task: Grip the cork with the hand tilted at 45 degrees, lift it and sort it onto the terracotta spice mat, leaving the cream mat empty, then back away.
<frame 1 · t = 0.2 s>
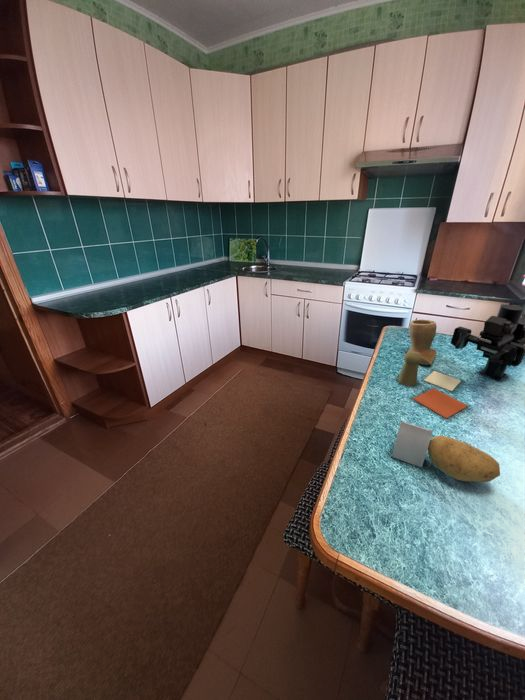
hand: (472, 352, 85), 17 cm above the table, tool horizontal, fingers open, 9 cm apart
potato: (455, 473, 68), on the table
grey rectangular block: (407, 457, 73), on the table
cream mat: (442, 381, 102), on the table
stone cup: (417, 357, 118), on the table
terracotta mat: (439, 403, 91), on the table
cork: (406, 381, 102), on the table
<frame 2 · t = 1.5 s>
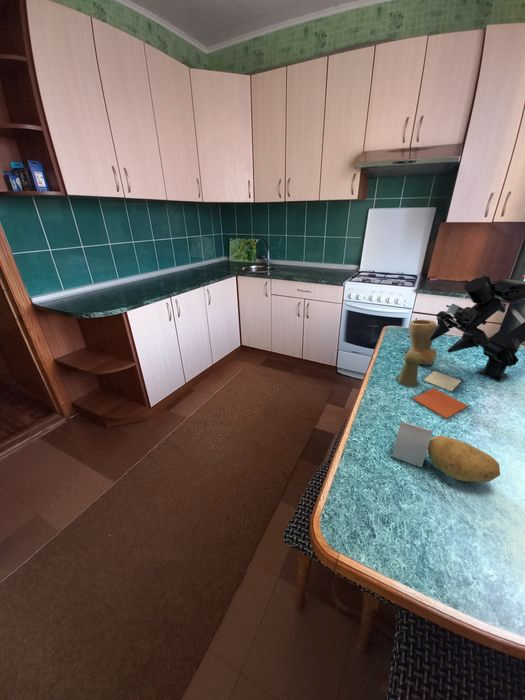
hand: (438, 345, 97), 14 cm above the table, tool tilted 45°, fingers open, 9 cm apart
nothing on the table moved.
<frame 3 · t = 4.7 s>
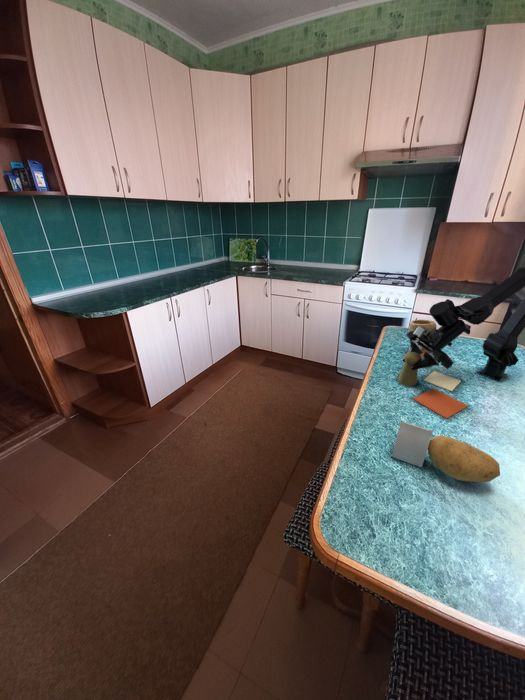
hand: (407, 365, 99), 7 cm above the table, tool tilted 45°, fingers closed on cork, 5 cm apart
cork: (406, 381, 102), on the table, touching gripper
everything else where it was.
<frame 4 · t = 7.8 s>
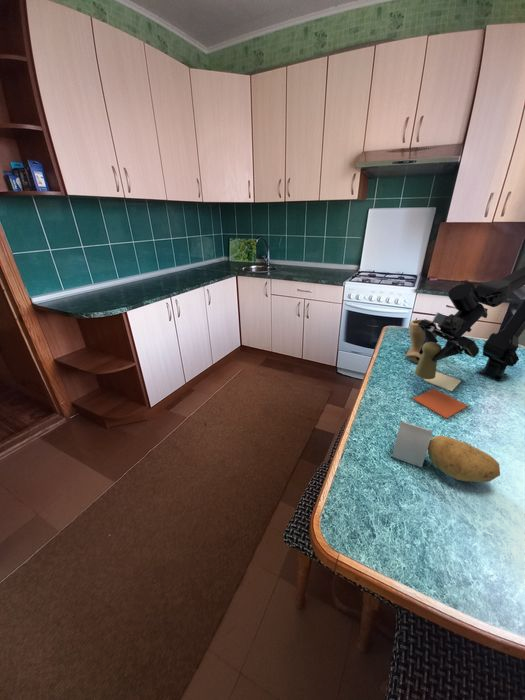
hand: (426, 357, 91), 13 cm above the table, tool tilted 45°, fingers closed on cork, 5 cm apart
cork: (424, 374, 94), point 6 cm above the table, touching gripper
everything else where it was.
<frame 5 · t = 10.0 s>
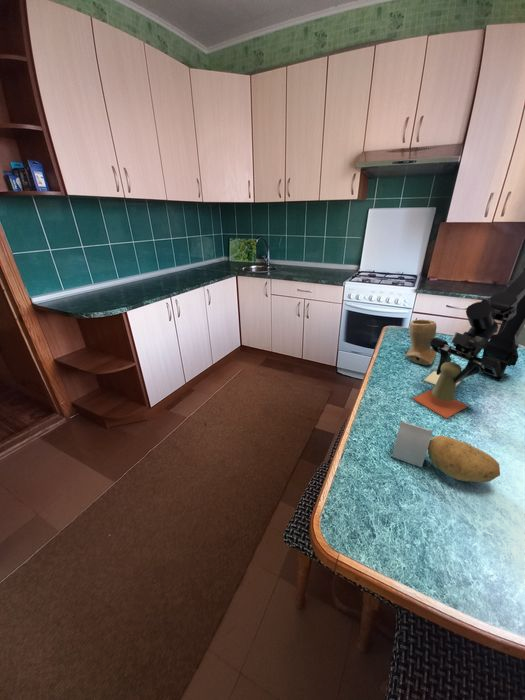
hand: (445, 378, 86), 10 cm above the table, tool tilted 45°, fingers closed on cork, 5 cm apart
cork: (442, 395, 90), point 3 cm above the table, touching gripper
everything else where it was.
when the fingers open (7 cm above the table, at t = 11.3 s): cork stays where it is, resting on terracotta mat.
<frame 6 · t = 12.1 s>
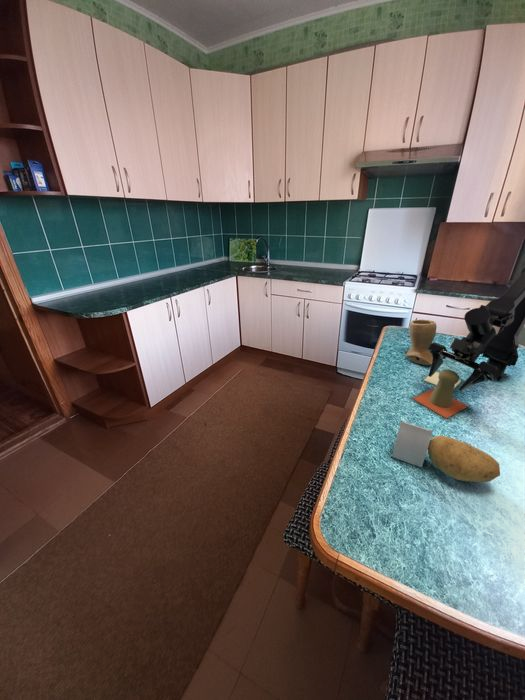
hand: (443, 383, 87), 8 cm above the table, tool tilted 45°, fingers open, 9 cm apart
cork: (440, 402, 91), resting on terracotta mat
everything else where it was.
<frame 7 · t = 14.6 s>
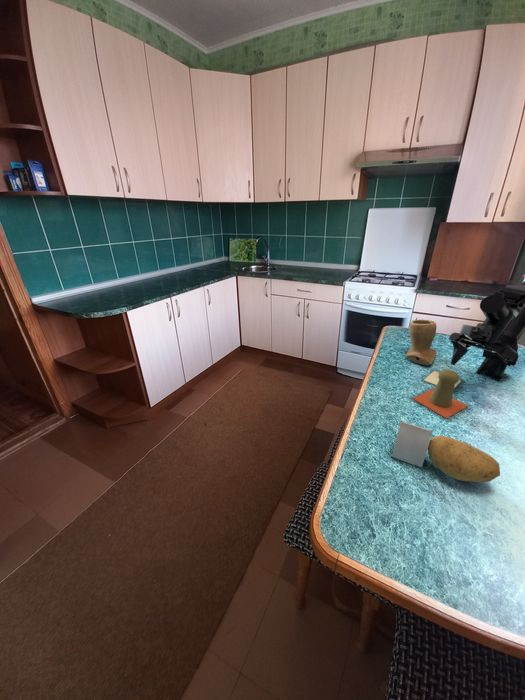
hand: (464, 369, 91), 9 cm above the table, tool tilted 35°, fingers open, 9 cm apart
nothing on the table moved.
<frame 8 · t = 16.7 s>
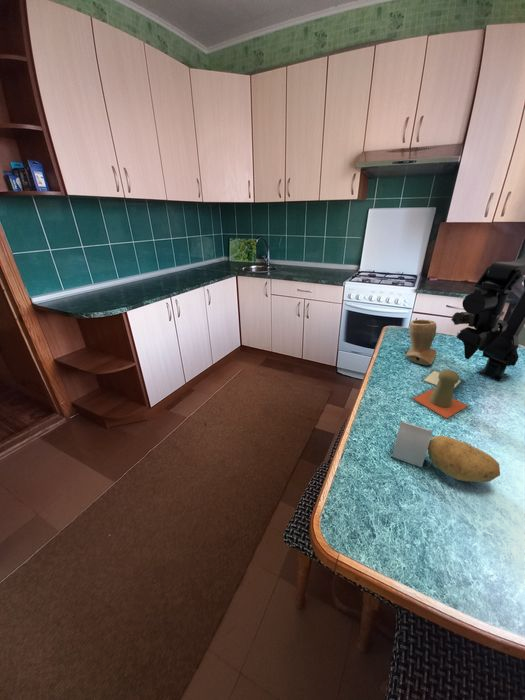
hand: (473, 354, 92), 13 cm above the table, tool pointing down, fingers open, 9 cm apart
nothing on the table moved.
at the end: cork inside the target area (0.2 cm from its centre), resting on terracotta mat; cork tilted 0°; the gripper is holding nothing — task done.
